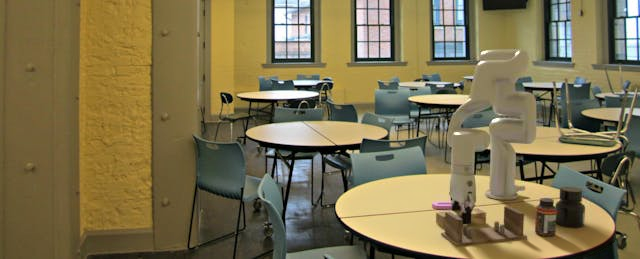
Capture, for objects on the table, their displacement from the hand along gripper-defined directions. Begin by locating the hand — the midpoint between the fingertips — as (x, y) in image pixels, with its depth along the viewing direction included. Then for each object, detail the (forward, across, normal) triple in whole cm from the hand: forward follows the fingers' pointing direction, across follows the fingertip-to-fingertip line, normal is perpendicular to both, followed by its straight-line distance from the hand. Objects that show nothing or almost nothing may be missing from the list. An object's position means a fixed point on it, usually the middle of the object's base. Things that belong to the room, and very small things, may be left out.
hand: (461, 219), depth 173 cm
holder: (+1, -14, 0) cm, 14 cm away
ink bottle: (+1, -11, -34) cm, 36 cm away
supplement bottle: (+1, -17, -20) cm, 26 cm away
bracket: (+1, +18, -5) cm, 19 cm away
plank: (+1, 0, 0) cm, 1 cm away
